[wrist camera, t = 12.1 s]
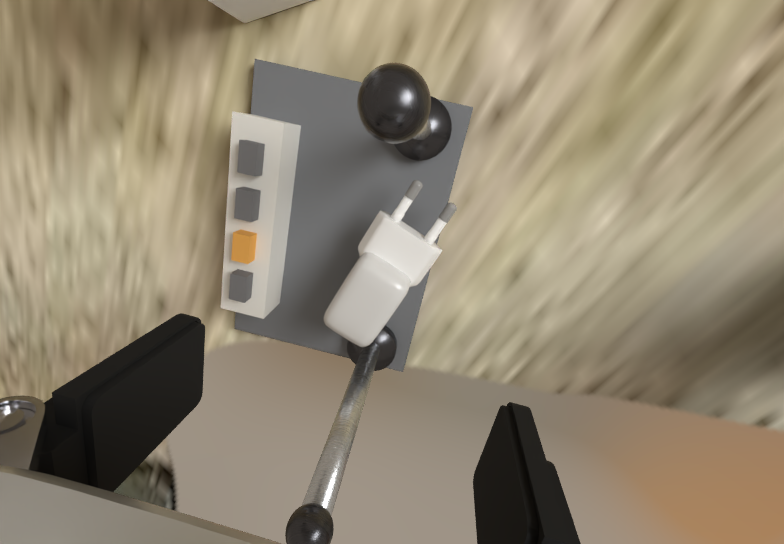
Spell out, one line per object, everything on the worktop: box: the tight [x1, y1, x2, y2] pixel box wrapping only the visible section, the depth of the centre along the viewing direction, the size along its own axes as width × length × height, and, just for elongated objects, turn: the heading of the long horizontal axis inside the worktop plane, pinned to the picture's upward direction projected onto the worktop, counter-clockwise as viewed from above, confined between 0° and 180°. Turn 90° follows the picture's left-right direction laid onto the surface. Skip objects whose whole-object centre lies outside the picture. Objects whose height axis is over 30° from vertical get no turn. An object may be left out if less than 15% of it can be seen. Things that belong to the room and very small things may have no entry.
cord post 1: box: [285, 325, 397, 544], centre depth 23 cm, size 4×4×17 cm
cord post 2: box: [357, 63, 452, 161], centre depth 17 cm, size 4×4×17 cm
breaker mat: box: [221, 59, 473, 372], centre depth 27 cm, size 15×21×5 cm
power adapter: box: [323, 180, 457, 347], centre depth 25 cm, size 11×5×6 cm, turn 148°
